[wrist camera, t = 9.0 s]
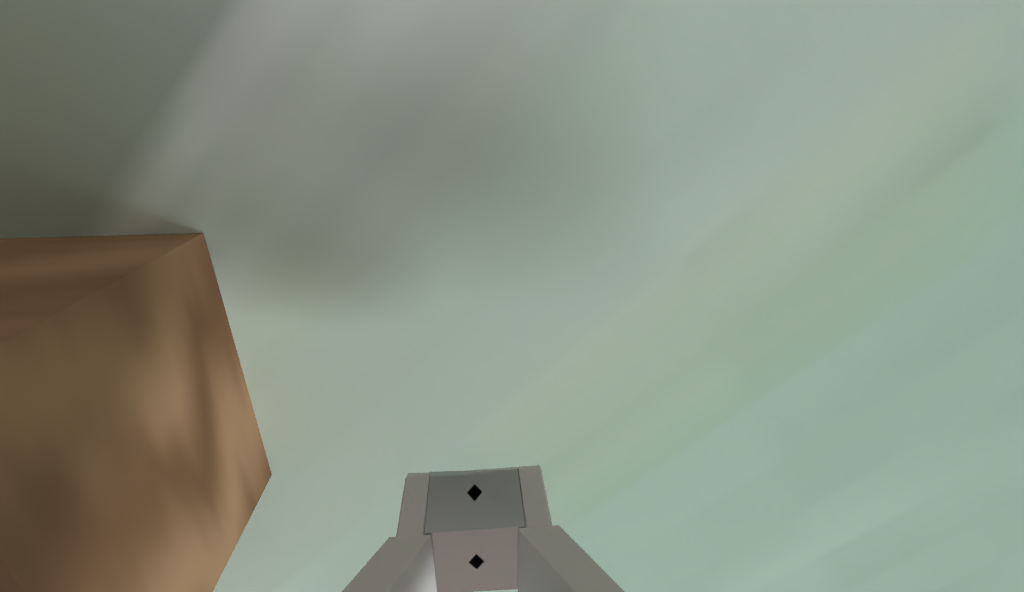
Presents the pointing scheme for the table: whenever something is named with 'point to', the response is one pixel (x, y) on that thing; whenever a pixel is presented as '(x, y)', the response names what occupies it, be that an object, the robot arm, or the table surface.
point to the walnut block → (120, 417)
